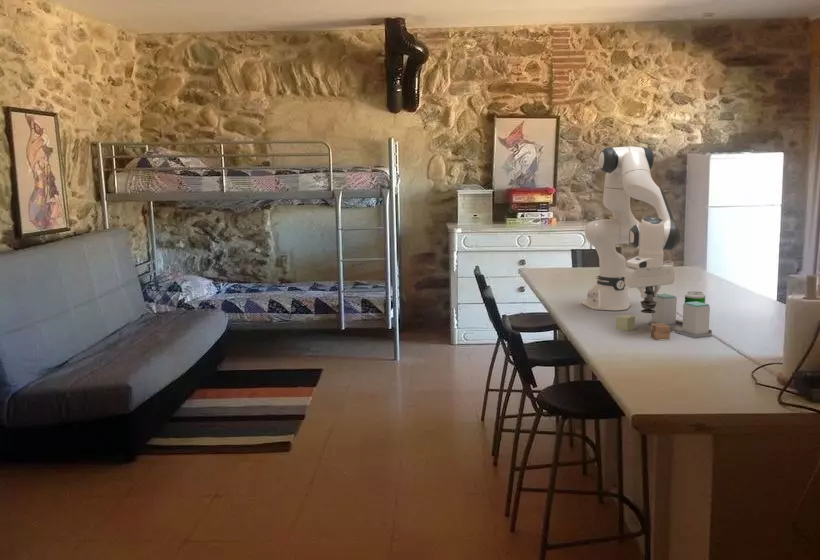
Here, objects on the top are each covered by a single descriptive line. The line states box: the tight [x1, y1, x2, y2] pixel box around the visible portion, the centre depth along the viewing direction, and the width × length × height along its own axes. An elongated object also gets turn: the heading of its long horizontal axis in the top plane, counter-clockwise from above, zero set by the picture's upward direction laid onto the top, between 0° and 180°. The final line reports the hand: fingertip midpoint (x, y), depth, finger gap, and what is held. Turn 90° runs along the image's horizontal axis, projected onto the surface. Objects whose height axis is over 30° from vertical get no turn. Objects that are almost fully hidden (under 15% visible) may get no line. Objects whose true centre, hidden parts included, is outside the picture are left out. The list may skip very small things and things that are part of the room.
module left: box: [650, 293, 678, 324], centre depth 295 cm, size 7×6×11 cm
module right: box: [682, 301, 711, 334], centre depth 278 cm, size 7×6×11 cm
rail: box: [647, 319, 713, 339], centre depth 288 cm, size 26×8×2 cm, turn 20°
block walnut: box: [650, 323, 671, 341], centre depth 275 cm, size 5×5×5 cm
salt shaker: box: [640, 286, 657, 314], centre depth 283 cm, size 6×6×12 cm
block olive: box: [615, 314, 636, 332], centre depth 291 cm, size 5×5×5 cm
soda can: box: [684, 290, 706, 304], centre depth 299 cm, size 8×8×12 cm
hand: (648, 297), depth 283 cm, fingers closed on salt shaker, 3 cm apart
